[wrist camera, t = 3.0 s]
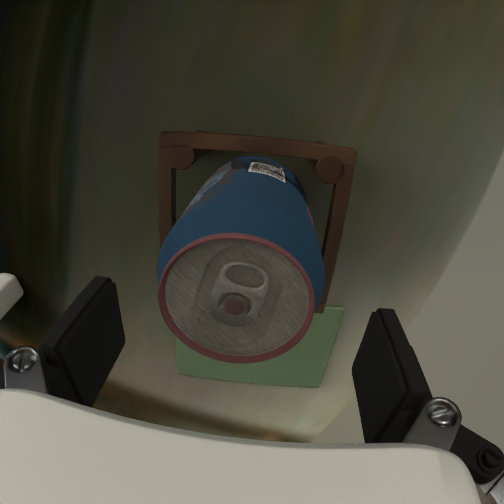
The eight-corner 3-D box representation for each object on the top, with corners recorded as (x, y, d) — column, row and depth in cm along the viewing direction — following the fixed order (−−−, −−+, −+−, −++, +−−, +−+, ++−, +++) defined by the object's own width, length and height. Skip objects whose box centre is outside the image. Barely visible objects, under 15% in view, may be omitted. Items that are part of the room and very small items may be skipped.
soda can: (285, 259, 24) (289, 388, 13) (194, 231, 24) (135, 345, 13) (319, 171, 21) (365, 256, 10) (219, 139, 20) (157, 191, 10)
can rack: (182, 259, 25) (163, 297, 20) (183, 123, 20) (158, 132, 16) (315, 273, 24) (323, 314, 20) (338, 138, 20) (357, 150, 15)
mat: (179, 371, 31) (178, 374, 30) (172, 289, 26) (171, 292, 26) (318, 385, 30) (318, 388, 30) (343, 307, 26) (344, 310, 25)
